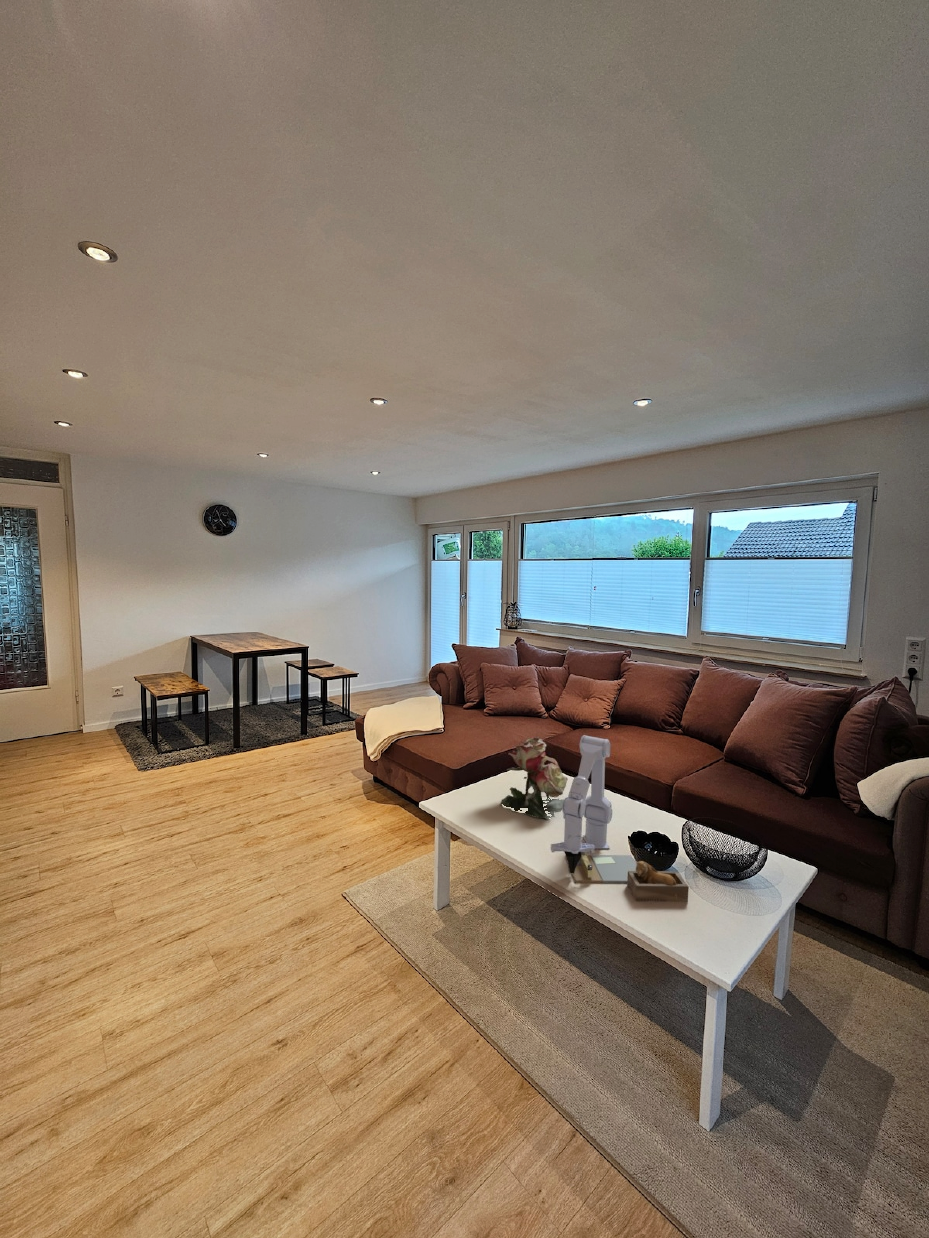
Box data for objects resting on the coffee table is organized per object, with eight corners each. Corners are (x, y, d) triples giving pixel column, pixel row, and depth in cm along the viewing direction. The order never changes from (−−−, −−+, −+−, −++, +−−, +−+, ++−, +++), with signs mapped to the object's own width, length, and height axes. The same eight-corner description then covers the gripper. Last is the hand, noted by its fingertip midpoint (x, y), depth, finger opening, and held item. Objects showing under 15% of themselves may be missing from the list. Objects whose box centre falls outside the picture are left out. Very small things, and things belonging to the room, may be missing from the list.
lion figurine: (633, 890, 166) (635, 864, 165) (635, 882, 171) (636, 856, 170) (683, 903, 160) (684, 875, 159) (683, 894, 165) (684, 867, 164)
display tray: (627, 885, 169) (627, 870, 169) (676, 885, 169) (677, 871, 169) (636, 901, 161) (636, 885, 160) (687, 901, 161) (688, 886, 161)
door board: (565, 856, 186) (565, 844, 186) (630, 857, 187) (631, 845, 186) (575, 882, 170) (576, 869, 170) (647, 883, 171) (647, 870, 170)
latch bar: (580, 861, 180) (581, 852, 180) (585, 861, 180) (586, 852, 180) (587, 877, 170) (588, 867, 170) (593, 877, 171) (593, 867, 170)
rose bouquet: (559, 824, 211) (561, 753, 209) (495, 807, 226) (497, 741, 223) (577, 801, 233) (580, 737, 231) (519, 787, 248) (520, 727, 246)
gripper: (554, 838, 168) (552, 878, 169) (597, 839, 169) (596, 878, 170) (549, 828, 175) (548, 866, 176) (591, 828, 176) (590, 866, 177)
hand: (571, 871), depth 173 cm, fingers closed
